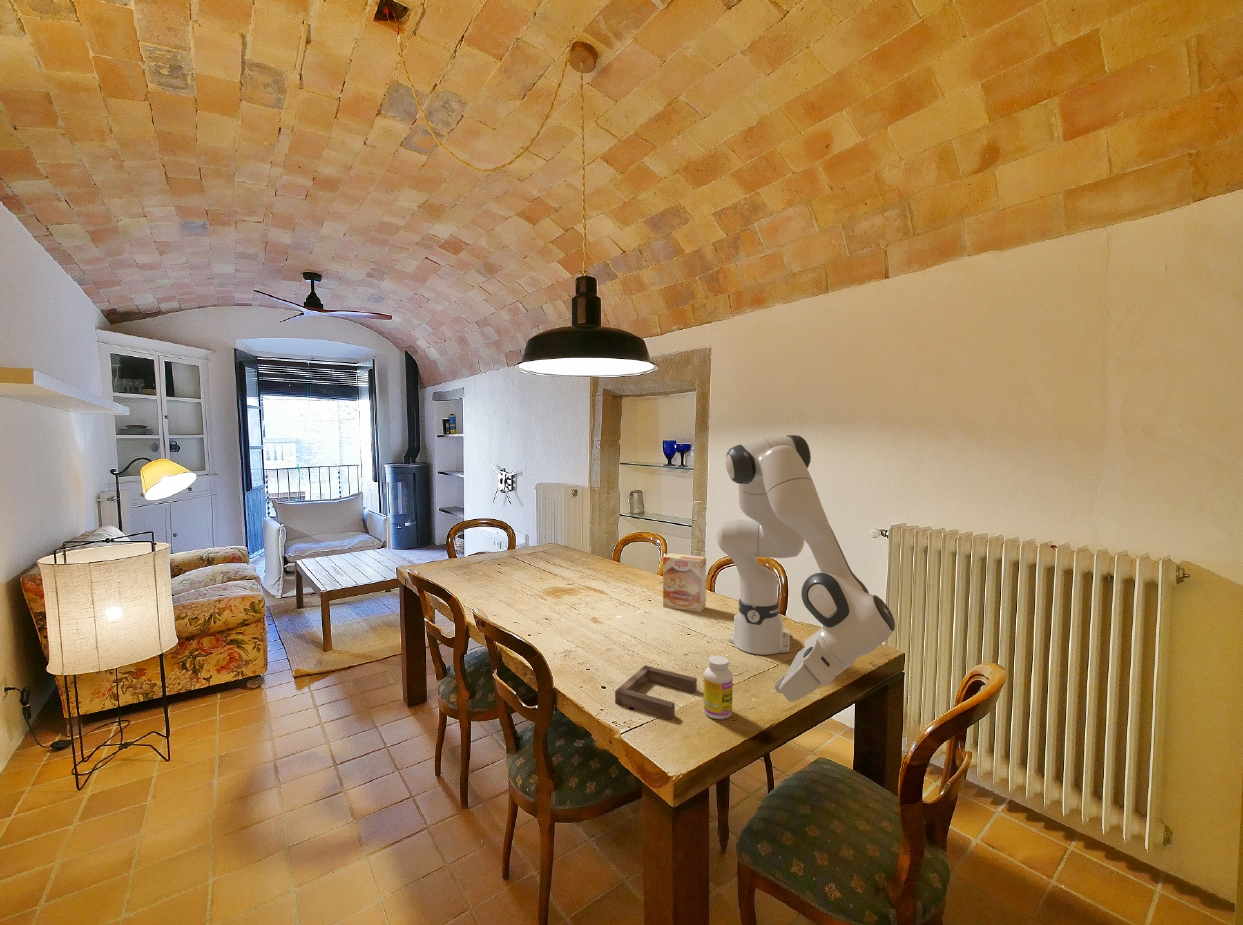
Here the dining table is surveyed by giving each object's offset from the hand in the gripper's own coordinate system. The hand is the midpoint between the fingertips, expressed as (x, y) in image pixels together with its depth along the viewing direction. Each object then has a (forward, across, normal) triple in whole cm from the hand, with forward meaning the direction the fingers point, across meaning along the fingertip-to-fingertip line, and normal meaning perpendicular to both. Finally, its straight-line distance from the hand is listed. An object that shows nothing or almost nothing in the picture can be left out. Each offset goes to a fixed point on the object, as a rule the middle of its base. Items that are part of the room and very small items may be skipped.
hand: (777, 687), depth 115 cm
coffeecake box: (+42, -65, -28) cm, 82 cm away
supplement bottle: (+17, 0, -3) cm, 17 cm away
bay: (+27, 0, -14) cm, 30 cm away
